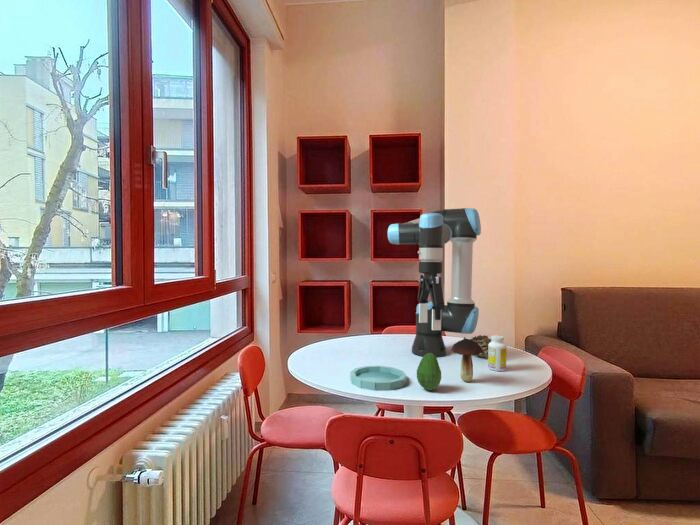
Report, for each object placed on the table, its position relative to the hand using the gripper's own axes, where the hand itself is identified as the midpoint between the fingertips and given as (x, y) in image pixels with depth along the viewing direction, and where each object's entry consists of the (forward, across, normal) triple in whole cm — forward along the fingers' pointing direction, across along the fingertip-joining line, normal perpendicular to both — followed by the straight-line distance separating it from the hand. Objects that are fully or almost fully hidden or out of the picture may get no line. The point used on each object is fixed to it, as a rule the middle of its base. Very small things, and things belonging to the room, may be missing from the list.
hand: (429, 326), depth 126 cm
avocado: (+21, 0, 0) cm, 21 cm away
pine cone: (+21, -41, +35) cm, 58 cm away
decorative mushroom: (+21, -7, +16) cm, 27 cm away
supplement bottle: (+21, -20, +34) cm, 45 cm away
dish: (+21, -10, -15) cm, 28 cm away
